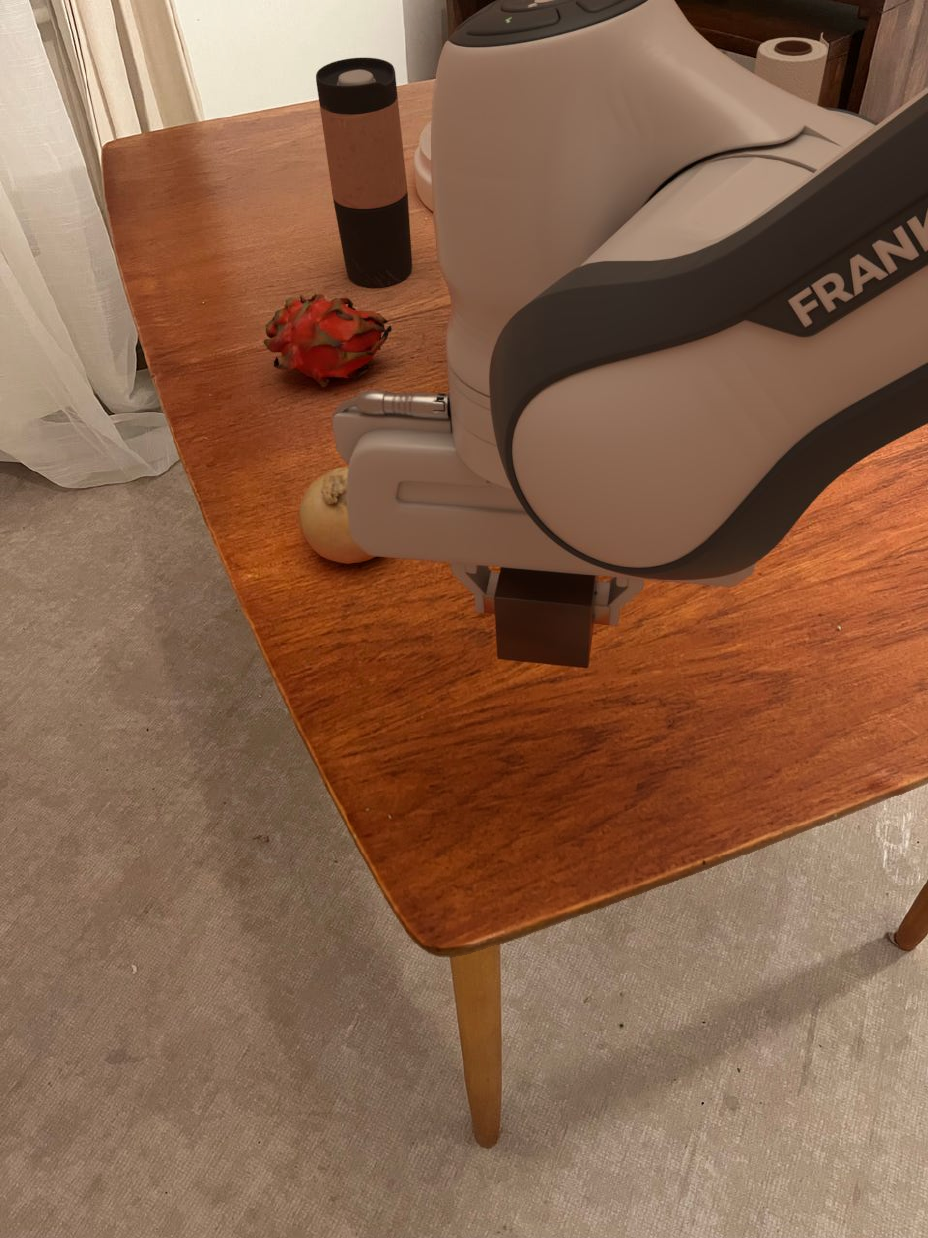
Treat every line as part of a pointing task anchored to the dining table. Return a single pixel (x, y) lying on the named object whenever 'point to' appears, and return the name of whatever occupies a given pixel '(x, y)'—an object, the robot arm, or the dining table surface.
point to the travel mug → (367, 168)
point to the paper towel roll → (793, 65)
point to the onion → (329, 519)
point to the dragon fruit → (325, 337)
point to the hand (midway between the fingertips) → (548, 611)
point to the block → (544, 616)
